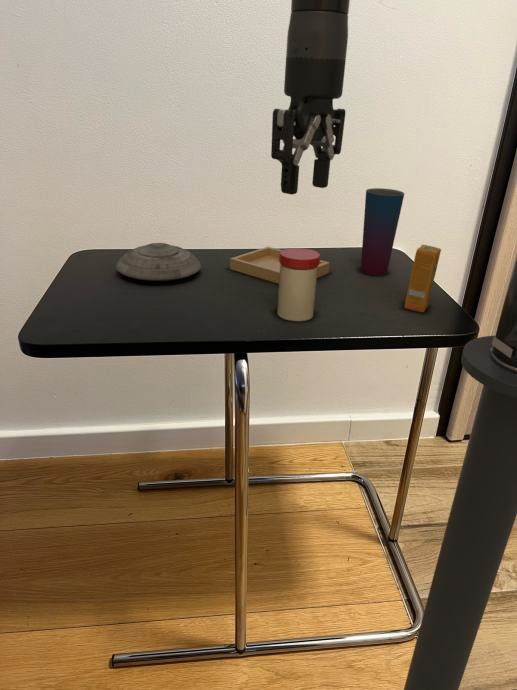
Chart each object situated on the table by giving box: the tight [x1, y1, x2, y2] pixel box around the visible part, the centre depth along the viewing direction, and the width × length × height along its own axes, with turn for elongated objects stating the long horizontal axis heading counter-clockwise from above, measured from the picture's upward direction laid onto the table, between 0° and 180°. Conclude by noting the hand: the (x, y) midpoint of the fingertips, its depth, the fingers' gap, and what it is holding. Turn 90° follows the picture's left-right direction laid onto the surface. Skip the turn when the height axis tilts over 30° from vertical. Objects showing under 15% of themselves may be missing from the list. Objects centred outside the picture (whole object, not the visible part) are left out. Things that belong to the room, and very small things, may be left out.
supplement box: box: [404, 244, 442, 313], centre depth 86 cm, size 3×3×10 cm
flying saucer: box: [115, 242, 202, 282], centre depth 97 cm, size 15×15×6 cm
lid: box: [279, 247, 321, 269], centre depth 80 cm, size 6×6×1 cm
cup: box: [360, 187, 405, 276], centre depth 101 cm, size 7×7×15 cm
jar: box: [276, 263, 318, 322], centre depth 82 cm, size 6×6×9 cm
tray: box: [229, 246, 331, 285], centre depth 101 cm, size 15×12×2 cm
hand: (305, 189), depth 75 cm, fingers open, 7 cm apart
